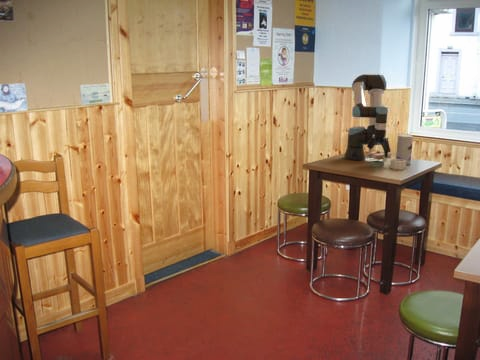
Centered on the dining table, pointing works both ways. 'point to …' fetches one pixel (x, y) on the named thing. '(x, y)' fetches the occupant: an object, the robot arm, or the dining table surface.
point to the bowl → (398, 164)
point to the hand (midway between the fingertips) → (377, 160)
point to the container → (404, 148)
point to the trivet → (377, 164)
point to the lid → (376, 155)
